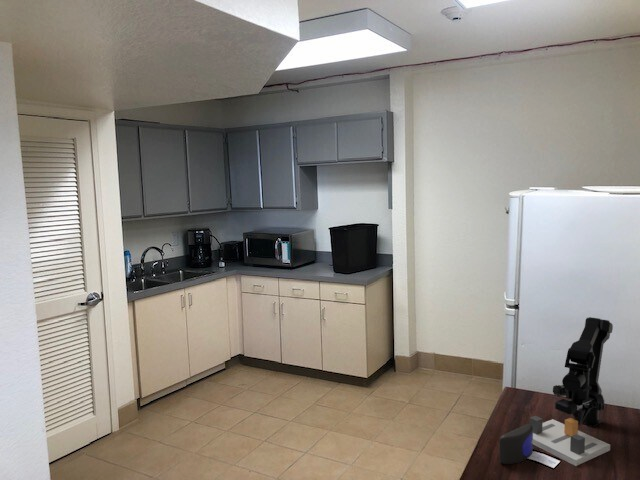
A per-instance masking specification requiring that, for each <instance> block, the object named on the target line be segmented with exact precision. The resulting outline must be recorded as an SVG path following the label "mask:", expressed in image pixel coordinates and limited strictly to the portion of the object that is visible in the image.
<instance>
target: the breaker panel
mask: <svg viewBox="0 0 640 480" xmlns="http://www.w3.org/2000/svg"><path fill="white" fill-rule="evenodd" d="M529 424H531V425H532V426H533V446H535V447H537V448H540V449H541V450H543V451H545V452H547V453H549V454H551V455H553V456H555V457H557V458H558V459H561V460H563V461H565V462H567V463H569V464H571V465H573V466H575V467H577V466H580V465H581V464H584V463H585V462H588V461H590V460H592V459H595V458H597V457H598V456H601V455H603V454H605V453H607V452H609V451H611V444H609V443H607V442H606V441H603V440H600V439H598V438H596V437H594V436H592V435H589V434H587V433H584V432H583V431H581V430H578V434H575V435H573V436H569V435H567V434H564V428H565V423H563V422H560V421H557V420H556V419H553V418H552V419H550V420H547V421H544V420H543V418H542V417H539V416H537V415H533V416H531V417H529Z"/></svg>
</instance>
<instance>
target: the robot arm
mask: <svg viewBox="0 0 640 480" xmlns="http://www.w3.org/2000/svg"><path fill="white" fill-rule="evenodd" d="M613 326H614V325H613V323H612V322H611V321H610V320H609V319H602V318H599V317H590V316H589V317H586V318H585V322H584V328H583V330H582V332H581V334H580V336H579V338H578V340H577V341H574V342H572V344H571V346H570V347H569V348H568V349H567V353H566V358H565V363H564V368H568V372H567V373H566V375H564V376H563V378H562V380H561V383H562V384H561V385H559V384H556V385H554V386H552V393H553V394H554V395H555V396H556V397H565V398H566V399H565V398H562V399H560V400H556V401H555V402H554V408H555V410H557V411H560V412H562V413H564V414H567V415H572V416H573V419H574V420H577V421H578V427H580V426H581V425H582V424H584V425H587V426H589V427H591V428H592V427H596V426H598V425H601V424H603V420H600V419H599V418H600V417H599V416H600V411H604V410H605V408H606V407H605V406H606V404H605V399H604V396H603V394H602V392H603V390H602V388H601V386H600V384H599V378H600V377H599V376H600V371H601V364H602V356H603V352H604V350H603V349H604V346H605V345H604V344H605V343H606V342H607V341H608V340H609V339H610V336H611V334H612V333H613V328H614V327H613ZM567 399H568V400H567Z"/></svg>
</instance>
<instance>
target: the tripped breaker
mask: <svg viewBox="0 0 640 480" xmlns="http://www.w3.org/2000/svg"><path fill="white" fill-rule="evenodd" d="M564 424H565V428H564V434H567V435H569V436H573V435H575V434H578V431H579V426H578V421H577V420H575V419H574V418H571V417H568V418H566V419H564Z"/></svg>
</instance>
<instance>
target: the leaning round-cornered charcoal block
mask: <svg viewBox="0 0 640 480" xmlns="http://www.w3.org/2000/svg"><path fill="white" fill-rule="evenodd" d="M498 440H499V441H498V460H499V462H500V463H501V464H503V465H513V464H518V463H520V462H525V460H527V459H529V458H530V457H531V455H532V454H533V452H534V451H533V448H534V445H533V426H532V425H531V424H530V423H525V424H524V425H522V426H520V427H517V428H515V429H513V430H511V431H509V432H507V433H504V434H503V435H501V436H500V437H499V439H498Z"/></svg>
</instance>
